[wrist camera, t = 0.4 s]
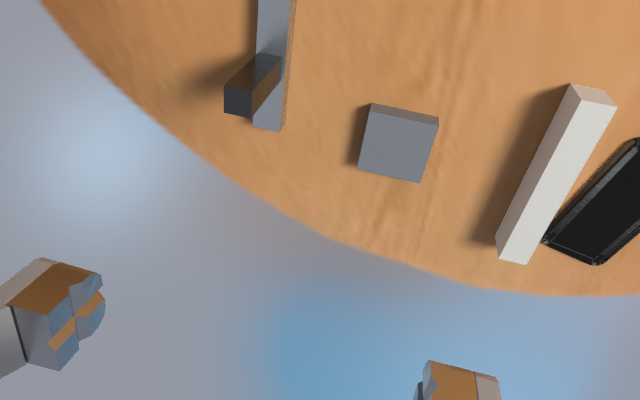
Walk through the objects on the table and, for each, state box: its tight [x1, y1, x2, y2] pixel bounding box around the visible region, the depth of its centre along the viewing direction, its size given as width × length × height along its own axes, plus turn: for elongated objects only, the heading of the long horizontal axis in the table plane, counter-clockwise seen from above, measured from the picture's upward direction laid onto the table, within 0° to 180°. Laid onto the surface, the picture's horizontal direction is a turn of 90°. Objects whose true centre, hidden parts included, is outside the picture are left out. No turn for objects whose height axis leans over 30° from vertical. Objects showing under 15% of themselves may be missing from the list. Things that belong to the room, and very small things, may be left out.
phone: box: [542, 137, 640, 266], centre depth 47 cm, size 8×1×15 cm
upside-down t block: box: [224, 0, 297, 132], centre depth 41 cm, size 14×3×12 cm, turn 172°
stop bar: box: [495, 83, 618, 265], centre depth 45 cm, size 19×3×4 cm, turn 172°
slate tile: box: [357, 103, 439, 183], centre depth 47 cm, size 7×7×2 cm
